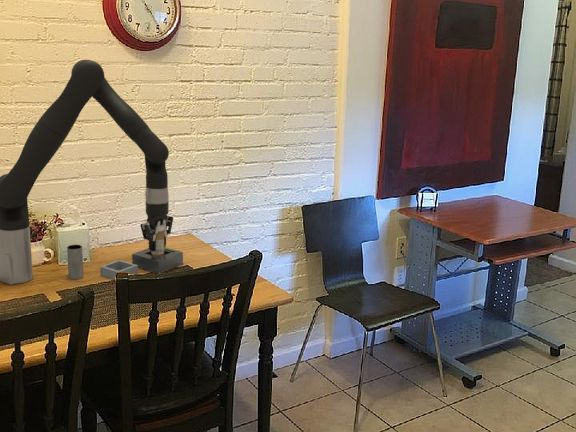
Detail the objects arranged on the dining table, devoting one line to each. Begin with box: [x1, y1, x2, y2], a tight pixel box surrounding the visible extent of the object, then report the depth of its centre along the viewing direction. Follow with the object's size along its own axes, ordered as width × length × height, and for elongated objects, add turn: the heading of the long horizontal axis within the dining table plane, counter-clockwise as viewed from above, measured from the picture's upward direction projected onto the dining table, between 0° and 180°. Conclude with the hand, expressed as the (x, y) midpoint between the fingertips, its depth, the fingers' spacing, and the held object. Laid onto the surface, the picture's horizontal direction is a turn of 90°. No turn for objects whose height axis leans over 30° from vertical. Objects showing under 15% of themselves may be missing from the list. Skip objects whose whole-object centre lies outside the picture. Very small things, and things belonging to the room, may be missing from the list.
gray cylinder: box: [66, 244, 84, 281], centre depth 205 cm, size 4×4×10 cm
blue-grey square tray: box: [99, 259, 139, 281], centre depth 209 cm, size 8×8×3 cm
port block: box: [131, 246, 184, 274], centre depth 219 cm, size 12×12×5 cm
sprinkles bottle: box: [151, 225, 164, 257], centre depth 217 cm, size 5×5×14 cm
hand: (157, 248), depth 218 cm, fingers closed on sprinkles bottle, 4 cm apart
